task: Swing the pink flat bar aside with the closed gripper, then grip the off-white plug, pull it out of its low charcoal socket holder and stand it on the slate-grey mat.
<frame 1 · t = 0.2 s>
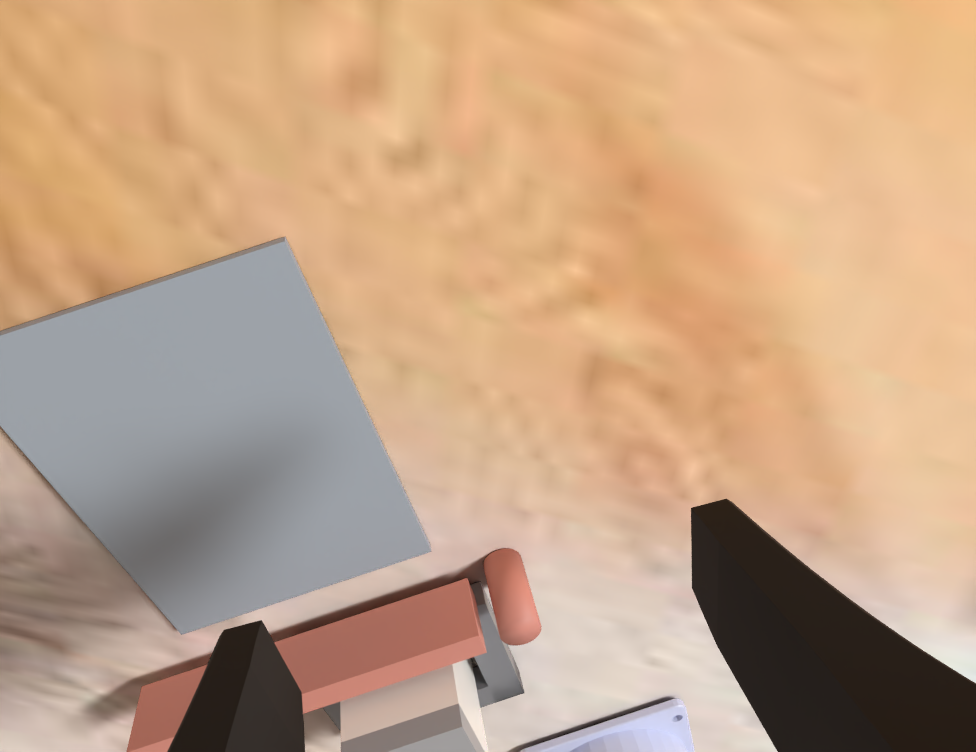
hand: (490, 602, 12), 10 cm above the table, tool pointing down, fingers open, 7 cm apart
plug: (414, 706, 26), in the socket holder
socket holder: (408, 649, 28), on the table
slate mat: (225, 462, 22), on the table
pink flat bar: (337, 653, 25), point 1 cm above the table, hinge at 0.0°
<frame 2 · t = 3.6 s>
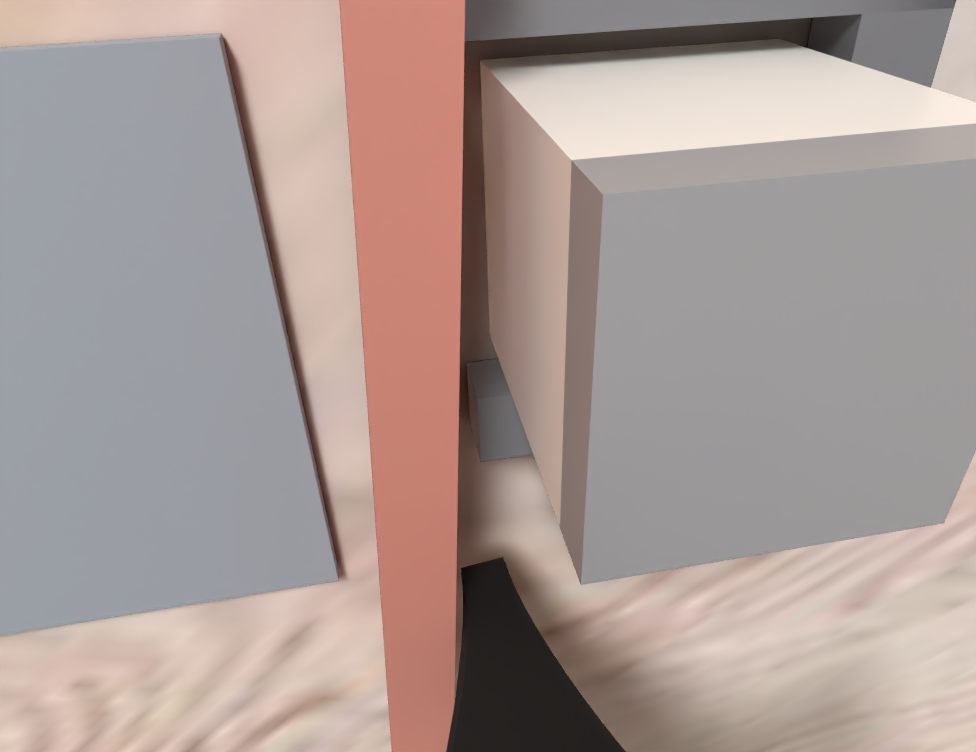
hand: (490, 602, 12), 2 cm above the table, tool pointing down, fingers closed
plug: (693, 272, 8), in the socket holder
socket holder: (623, 200, 10), on the table
pink flat bar: (404, 387, 10), point 2 cm above the table, hinge at -4.0°, touching gripper
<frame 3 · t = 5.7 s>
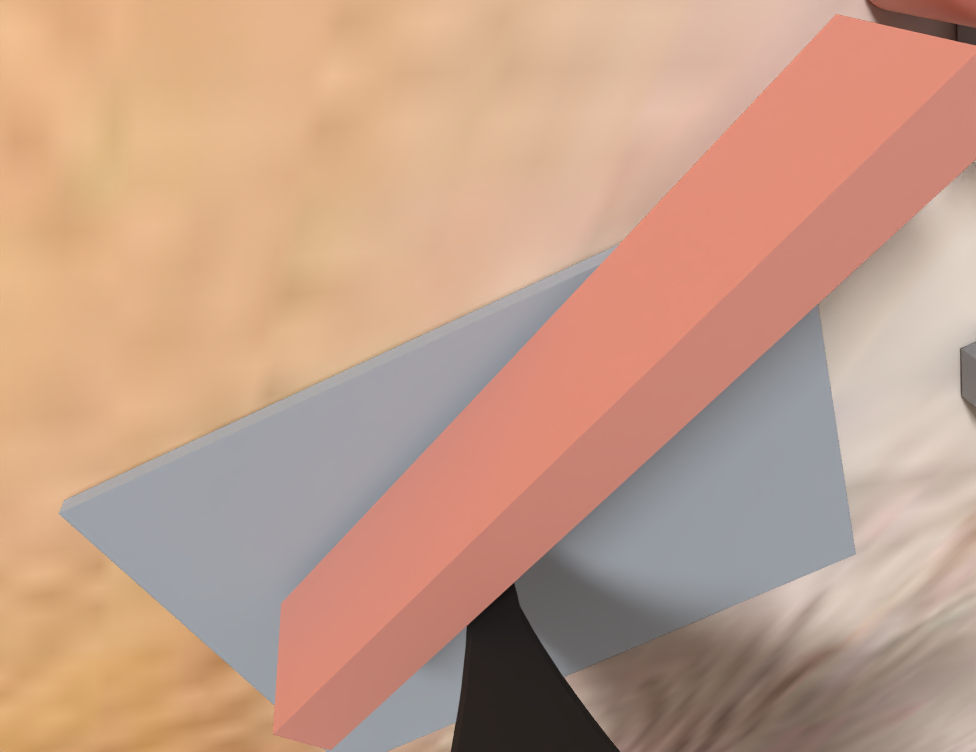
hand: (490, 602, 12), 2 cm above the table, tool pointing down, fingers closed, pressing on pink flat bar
slate mat: (518, 525, 13), on the table
pink flat bar: (599, 360, 10), point 1 cm above the table, hinge at -64.0°, touching gripper
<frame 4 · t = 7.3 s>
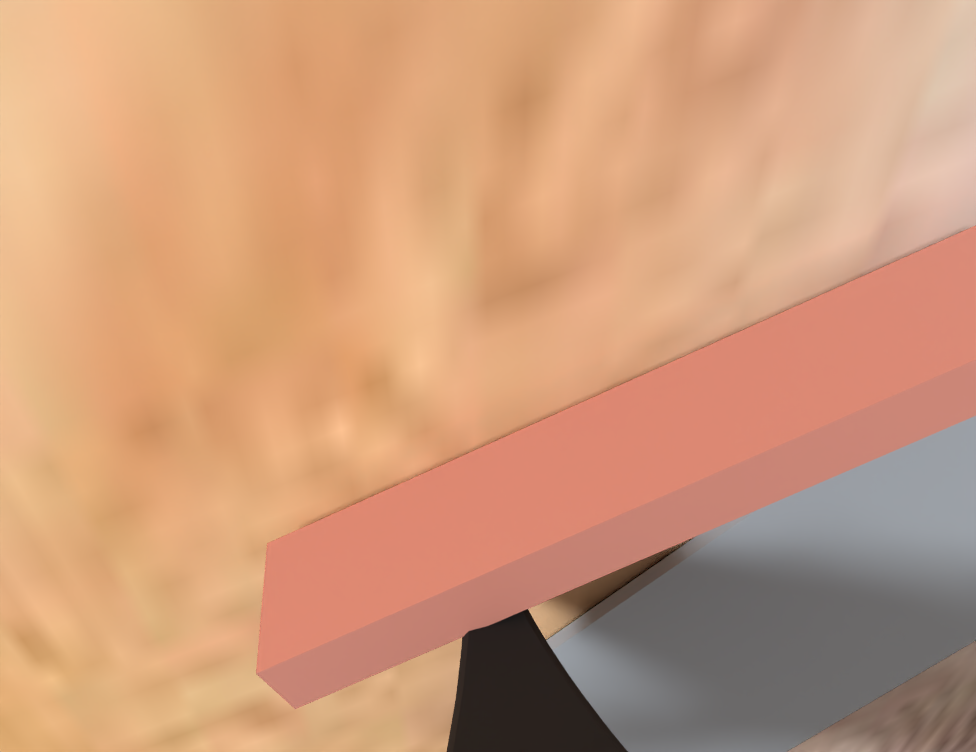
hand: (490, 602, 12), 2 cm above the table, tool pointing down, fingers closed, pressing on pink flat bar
slate mat: (779, 632, 17), on the table
pink flat bar: (700, 419, 11), point 1 cm above the table, hinge at -107.8°, touching gripper
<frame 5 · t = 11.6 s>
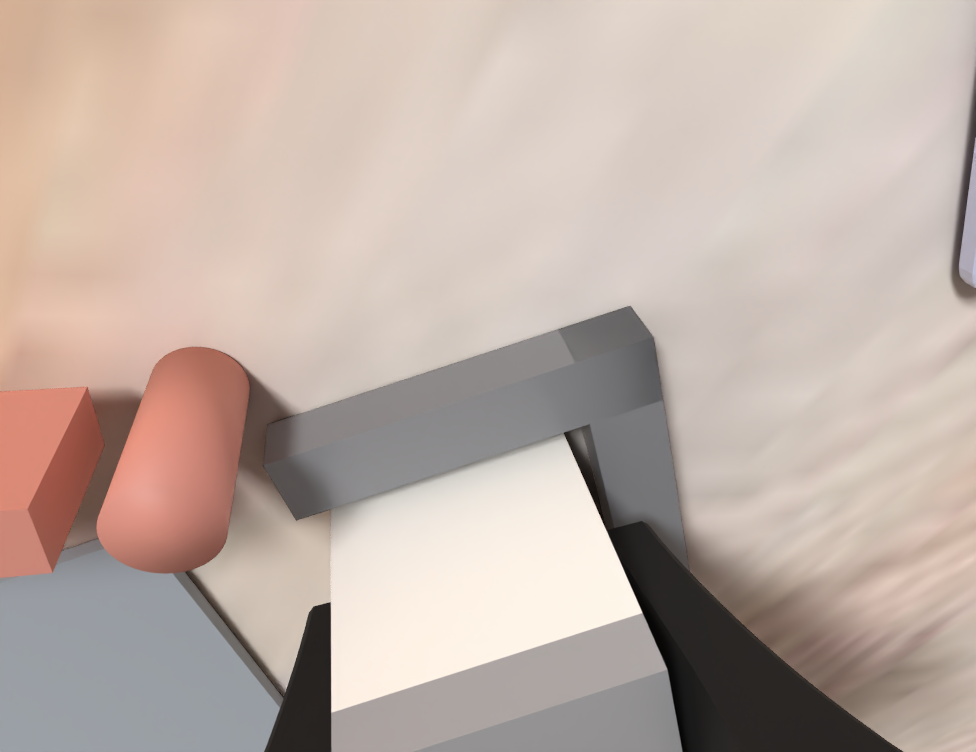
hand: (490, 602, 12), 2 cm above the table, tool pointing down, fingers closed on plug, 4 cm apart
plug: (498, 640, 11), in the socket holder, touching gripper
socket holder: (473, 528, 14), on the table
when the fingers open (3 cm above the table, at t = 17.4 s): plug stays where it is, resting on slate mat.
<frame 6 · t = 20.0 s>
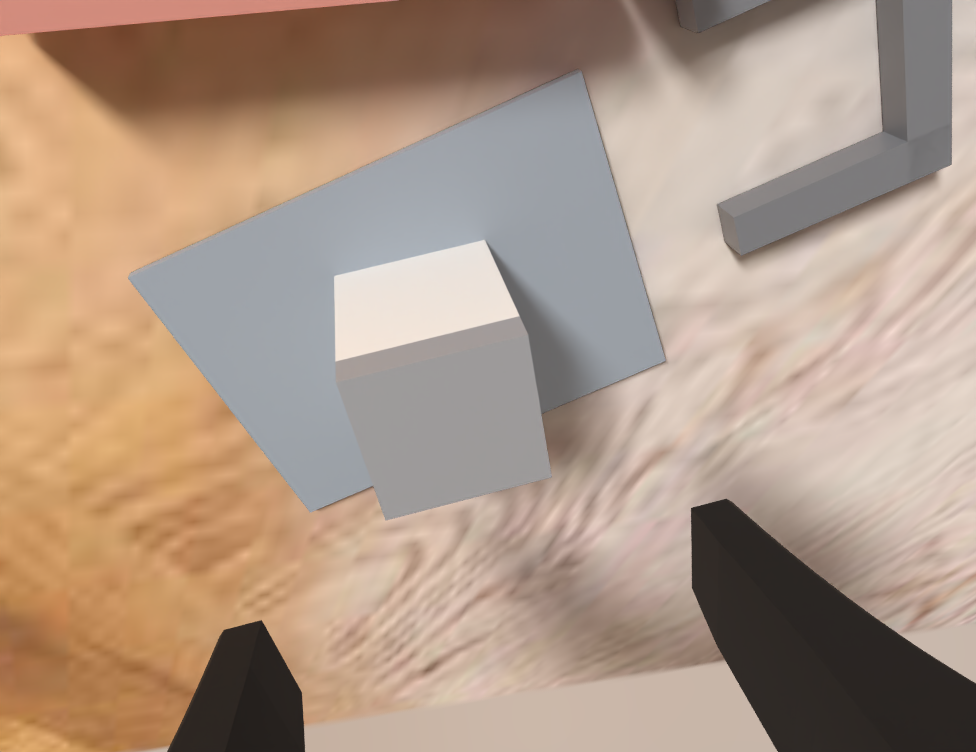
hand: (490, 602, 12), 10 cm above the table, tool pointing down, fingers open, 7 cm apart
plug: (438, 372, 18), resting on slate mat
socket holder: (788, 82, 18), on the table
slate mat: (425, 318, 20), on the table
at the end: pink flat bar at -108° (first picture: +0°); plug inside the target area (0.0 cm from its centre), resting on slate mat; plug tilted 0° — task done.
